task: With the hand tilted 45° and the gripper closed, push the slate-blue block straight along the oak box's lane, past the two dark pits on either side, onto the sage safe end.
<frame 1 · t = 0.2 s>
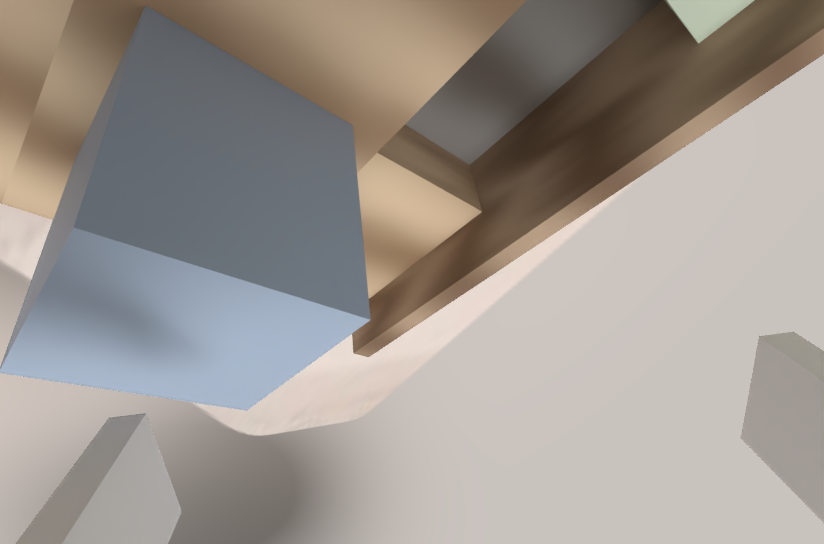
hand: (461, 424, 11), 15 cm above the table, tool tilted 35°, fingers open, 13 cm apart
slate block: (213, 143, 18), point 4 cm above the table, touching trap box
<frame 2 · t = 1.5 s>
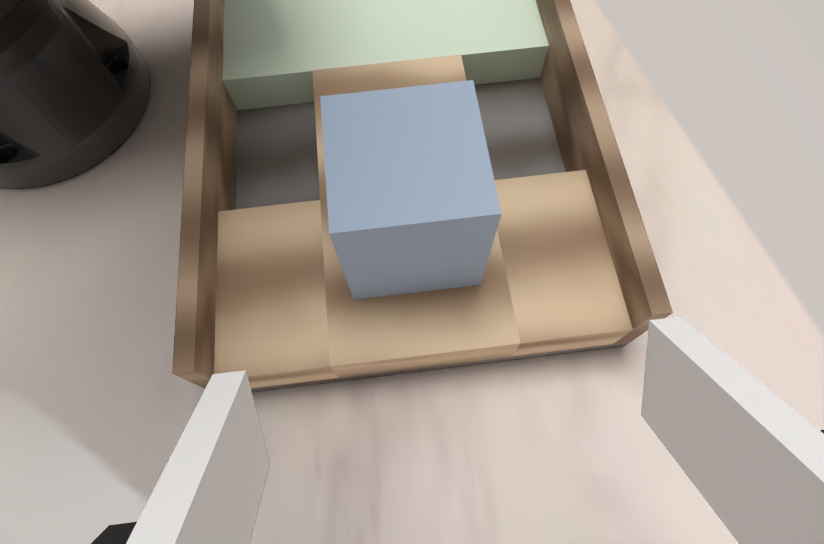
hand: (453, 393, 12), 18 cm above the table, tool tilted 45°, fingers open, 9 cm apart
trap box: (397, 159, 36), on the table
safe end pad: (383, 52, 40), resting on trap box
slate block: (409, 235, 30), point 4 cm above the table, touching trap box
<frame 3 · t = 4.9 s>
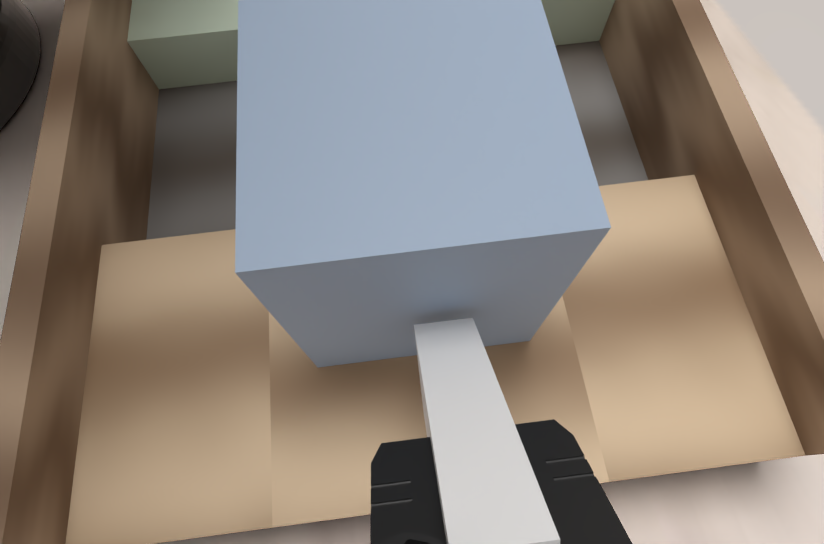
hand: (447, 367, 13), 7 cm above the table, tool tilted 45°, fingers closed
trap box: (393, 160, 25), on the table
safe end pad: (374, 9, 28), resting on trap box
slate block: (411, 257, 18), point 4 cm above the table, touching gripper, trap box
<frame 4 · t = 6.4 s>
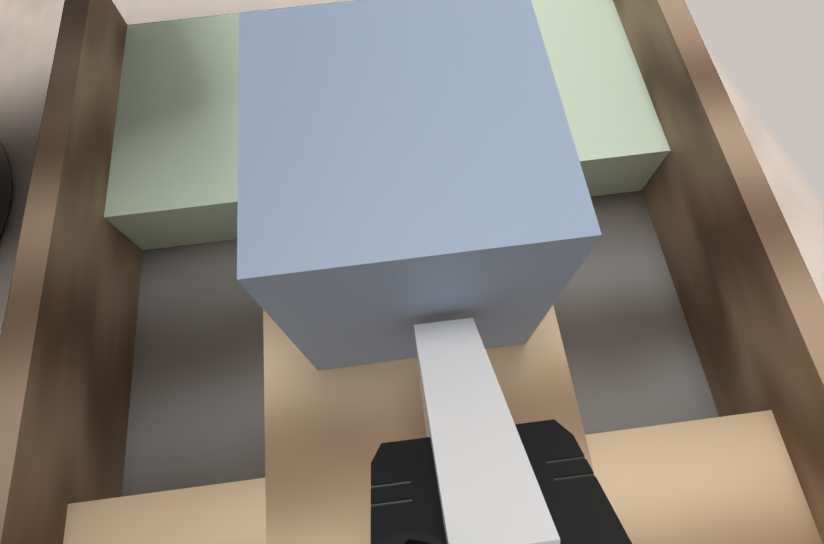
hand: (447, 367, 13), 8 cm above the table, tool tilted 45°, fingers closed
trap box: (410, 335, 22), on the table
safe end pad: (385, 141, 25), resting on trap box
slate block: (409, 261, 19), point 4 cm above the table, touching gripper, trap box
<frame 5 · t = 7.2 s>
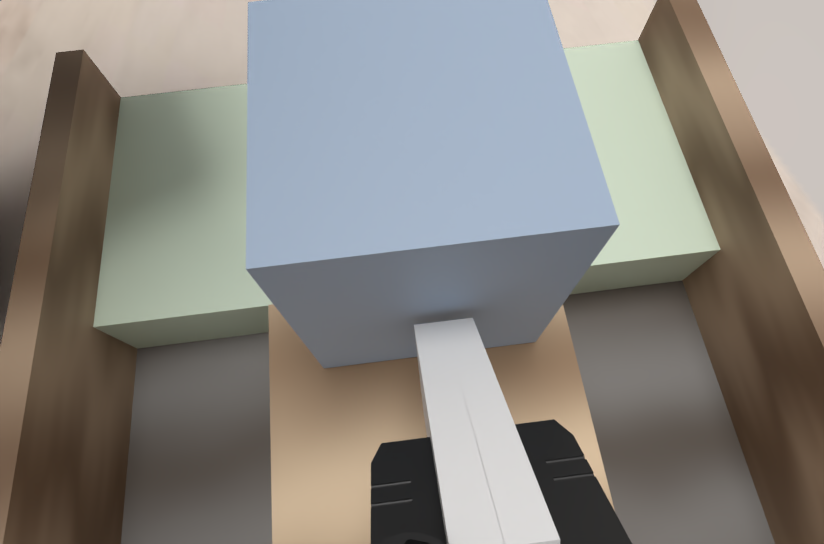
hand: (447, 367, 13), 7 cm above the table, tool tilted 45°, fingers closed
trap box: (430, 446, 20), on the table
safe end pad: (400, 217, 24), resting on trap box
slate block: (417, 259, 18), point 4 cm above the table, touching gripper
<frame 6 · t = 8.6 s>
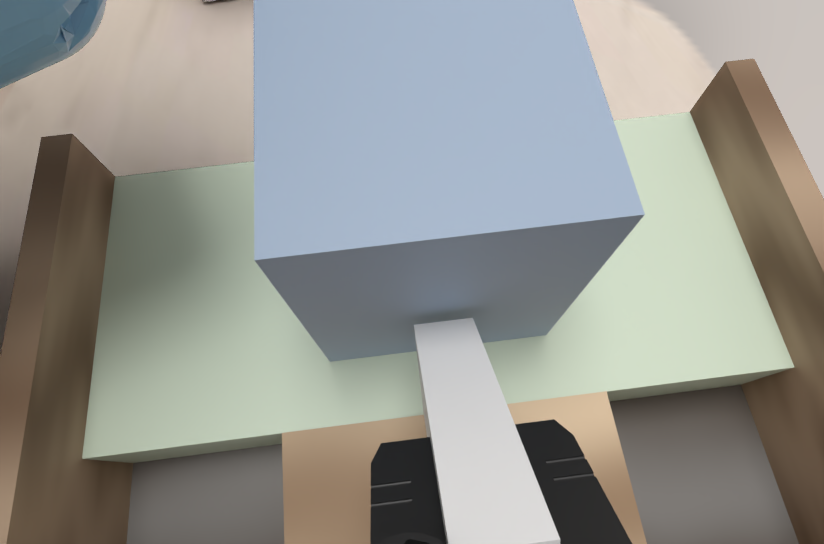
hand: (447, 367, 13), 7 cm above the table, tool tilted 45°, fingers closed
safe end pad: (423, 301, 21), resting on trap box
slate block: (424, 250, 18), point 4 cm above the table, touching gripper, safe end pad
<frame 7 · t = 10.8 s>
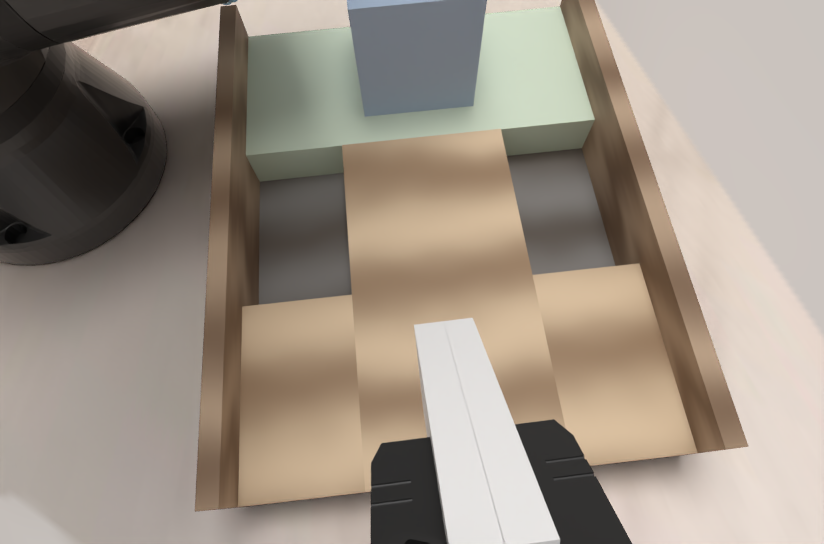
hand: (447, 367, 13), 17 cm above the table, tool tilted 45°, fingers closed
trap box: (430, 236, 34), on the table
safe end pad: (414, 115, 38), resting on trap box
slate block: (413, 69, 34), point 4 cm above the table, touching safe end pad
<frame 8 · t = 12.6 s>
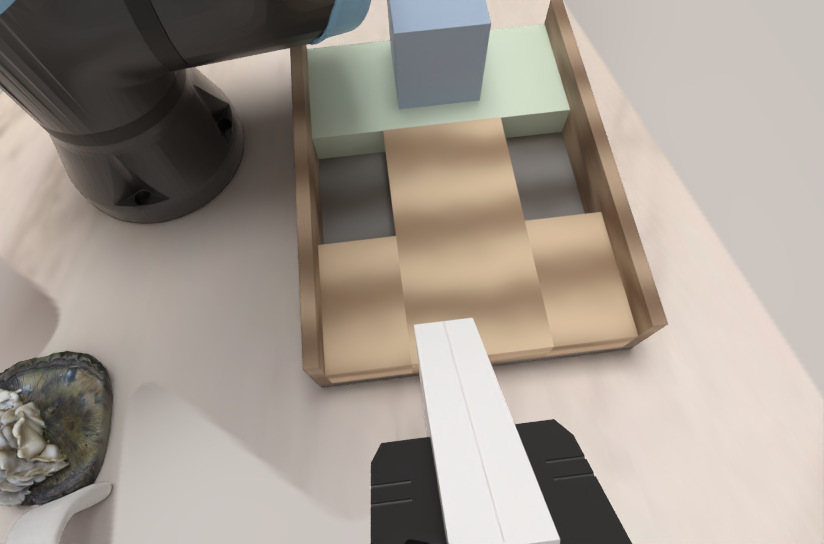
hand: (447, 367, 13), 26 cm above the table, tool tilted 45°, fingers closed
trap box: (448, 199, 45), on the table
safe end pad: (433, 108, 49), resting on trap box
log: (53, 425, 39), on the table
slate block: (434, 73, 46), point 4 cm above the table, touching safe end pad
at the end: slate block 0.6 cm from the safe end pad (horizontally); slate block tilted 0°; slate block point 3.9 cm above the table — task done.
